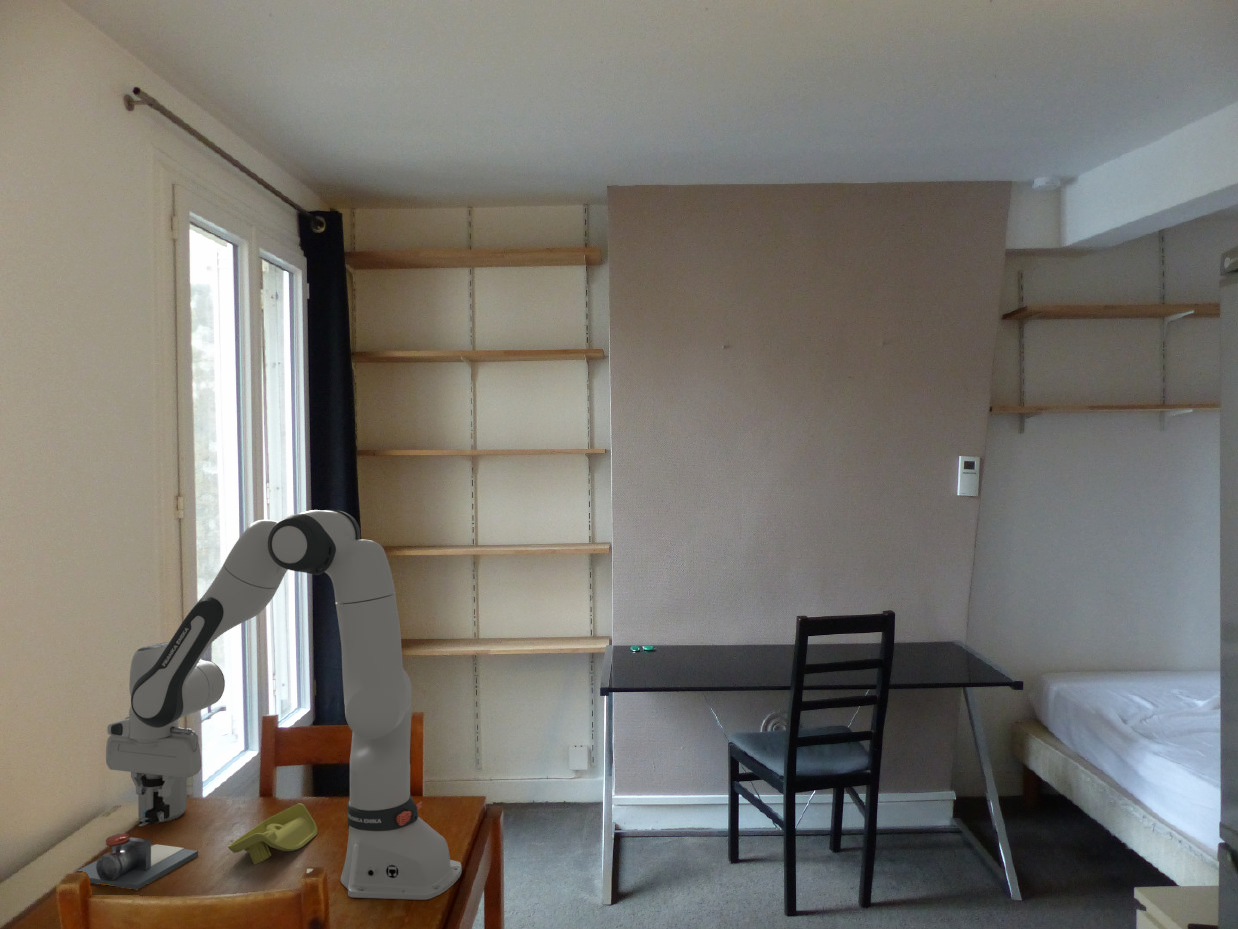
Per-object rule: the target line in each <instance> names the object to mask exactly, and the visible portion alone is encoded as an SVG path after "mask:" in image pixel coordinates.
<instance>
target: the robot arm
mask: <svg viewBox="0 0 1238 929" xmlns="http://www.w3.org/2000/svg"><path fill="white" fill-rule="evenodd" d="M387 557H388V556H387V553H386V551H385V550H384V547H383V545H381V544H380V543H379V542H377V541H374V540H369V539H361V530H360V526H359V524H358V522H357V520H356V519H355V518H354V517H353V515H351V514H349V513H347V512H345V511H344V510H343V511H342V510H339V509H325V510H320V509H319V510H318V509H314V510H313V509H312V510H307V511H304V512H300V513H294V514H293V513H292V514H290V515H287V516H285V517H284V518H282V519H281V520H280V521H276V520H272V519H259V520H256V521H253V522H252V523H251V524H249V526H247V527H246V529H245V530H244V531H243V533H242V534H241V535H240V537H239V538H238V539H237V541H236V542H235V543H234V544H233V546H232V548H231V550H230V551H229V554H228V555H227V557H226V558H225V560H224V562H223V564H222V566H221V568H220V570H219V571H218V574H217V575H216V577H214V580H213V582H212V583H211V584H210V585H209V587H208V589H207V590H206V591H205V593H204V594H203V595H202V596H201V598H200V599H199V600H198V601H196V602H197V603H195V604H194V606H193V608H192V609H191V610H190V611H189V613H188V614H187V615H186V616H185V618H184V619H183V621H182V623H180V626H179V627H178V629H177V630H176V631H175V633H174V634H173V637H171V639H170V641H169V642H168V641H166V642H162V643H161V642H160V643H156V644H151V645H148V646H143V647H140V648H138V649H137V650H136V651H135V652H134V654H133V656H132V658H131V664H130V670H129V684H128V685H129V695H130V707H129V709H128V710H129V711H128V717H125V718H123V719H120V720H117V721H115V722H112V723H109V724H108V725H107V728H106V731H107V734H108V735H109V736H108V738H107V740H106V747H105V763H106V766H107V767H108V769H109V770H113V771H118V772H120V771H121V772H127V773H128V772H130V778H131V780H132V782H133V784H134V786H135V794H136V795H138V794H139V795H144V794H146V793H147V788H146V787H145V786H142V781H141V777H142V776H143V774H153V775H162V776H163V781H165V782H164V784H163V787H161V788H159V789H158V793H159V794H158V797H163V798H166V797H168V796H170V795H171V786H172V785H173V783H174V781H175V779H176V777H179V778H186V779H188V778H191V777H193V776H196V775H197V774H199V772H200V771H201V770H202V756H201V755H202V754H201V747H200V742H199V735H198V734H197V733H196V732H195V731H194V730H193V728H188V727H187V728H186V727H185V728H183V727H180V719H181V718H184V717H187V716H189V715H193V714H194V713H196V712H199V711H201V710H202V711H203V710H204V709H206V708H209V707H211V706H213V705H215V704H216V703H218V702H219V701H220V699H221V698H222V696H223V694H224V692H225V686H226V685H225V684H226V683H225V682H226V680H225V676H224V673H223V671H222V669H221V668H220V666H218V665H217V664H216V663H215V662H214V661H211V660H206V659H205V660H204V659H202V658H203V655H204V654H205V652H206V651H207V650H208V648H209V647H210V646H211V645H212V644H213V642H215V641H216V639H218V638H219V637H220V636H221V635H223V634H225V633H226V632H228V631H230V630H231V629H234V628H235V627H237V626H239V625H241V624H243V623H244V622H246V621H249V620H250V619H253V618H254V617H256V616H258V615H260V614H261V613H262V612H263V610H265V609H266V607H267V605H269V603H270V602H271V601H272V599H273V598H274V596H275V595H276V593H277V590H278V589H279V587H280V585H281V584H282V581H283V579H284V577H285V575H286V574H287V571H288V570H289V571H292V572H293V571H294V572H299V573H305V574H311V575H315V576H319V575H322V574H323V573H325V574H327V575H328V576H329V578H330V579H331V583H332V587H333V592H334V599H335V600H334V601H335V606H336V616H337V621H338V630H339V637H340V638H339V639H340V643H341V644H340V645H341V667H342V670H341V671H342V672H341V674H342V688H343V703H344V714H345V719H346V722H347V725H348V727H349V729H350V730H351V731H352V733H351V734H352V737H351V747H350V756H349V801H348V802H347V811H346V812H347V813H346V816H347V820H346V822H347V827H348V838H347V846H346V847H347V848H346V854H345V861H344V864H343V868H342V872H341V876H340V882H341V884H342V885H343V886H344V887H345V888H346V889H347V895H348V897H350V898H357V899H359V898H363V899H387V900H388V899H392V900H393V899H395V900H424V901H425V900H430V899H433V898H435V897H437V896H440V895H441V894H442V893H445V891H447V890H449V888H451V887H452V886H453V885H454V884H455V883H456V882H457V881H458V880H459V879H460V877H461V875H462V873H463V872H462V871H463V868H462V864H461V862H460V861H456V860H453V859H451V858H450V856H451V855H450V851H449V846H448V842H447V840H446V839H445V837H444V836H442V835H441V834H440V833H438V831H436V830H435V829H434V828H432V827H431V826H430V825H429V824H428V823H427V822H426V821H424V820H423V819H422V818H421V817H419V812H418V811H419V810H420V809H421V808H422V807H423V805H422V804H423V801H421V800H420V801H419V802H418V803H415V801H414V799H413V797H412V794H411V793H410V792H411V791H410V788H411V786H410V783H411V781H410V778H411V776H410V775H411V774H410V772H411V763H410V761H411V760H410V759H411V758H410V757H411V732H412V704H413V703H412V702H413V699H412V698H413V694H412V693H413V686H412V680H411V678H410V676H409V674H408V672H407V671H406V670H405V669H404V666H403V663H404V662H403V651H402V634H401V633H402V631H401V624H400V617H399V610H398V603H397V596H396V590H395V583H394V578H393V573H392V570H391V567H390V563H389V560H388V558H387Z"/></svg>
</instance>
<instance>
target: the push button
mask: <svg viewBox="0 0 1238 929" xmlns="http://www.w3.org/2000/svg"><path fill="white" fill-rule="evenodd" d="M141 781H142V786H145V787H146V788H147V807H146V809H147V810H145V811H144V812H143V819H139V820H138V822H142V823H141V824H139V825H138V827H143V826H153V825H154V824H158V823H157V822H159V821H160V822H161V821H163V820H164V819H165V818H166V819H167V818H169V816H170V805H169V804H165V800H164V798H163V797H158V794H159V793H158V789H159V788H161V787H163V784H164V782H165V781H163V776H162V775H153V774H145V775H143V776H142V777H141ZM161 823H162V822H161Z"/></svg>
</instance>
